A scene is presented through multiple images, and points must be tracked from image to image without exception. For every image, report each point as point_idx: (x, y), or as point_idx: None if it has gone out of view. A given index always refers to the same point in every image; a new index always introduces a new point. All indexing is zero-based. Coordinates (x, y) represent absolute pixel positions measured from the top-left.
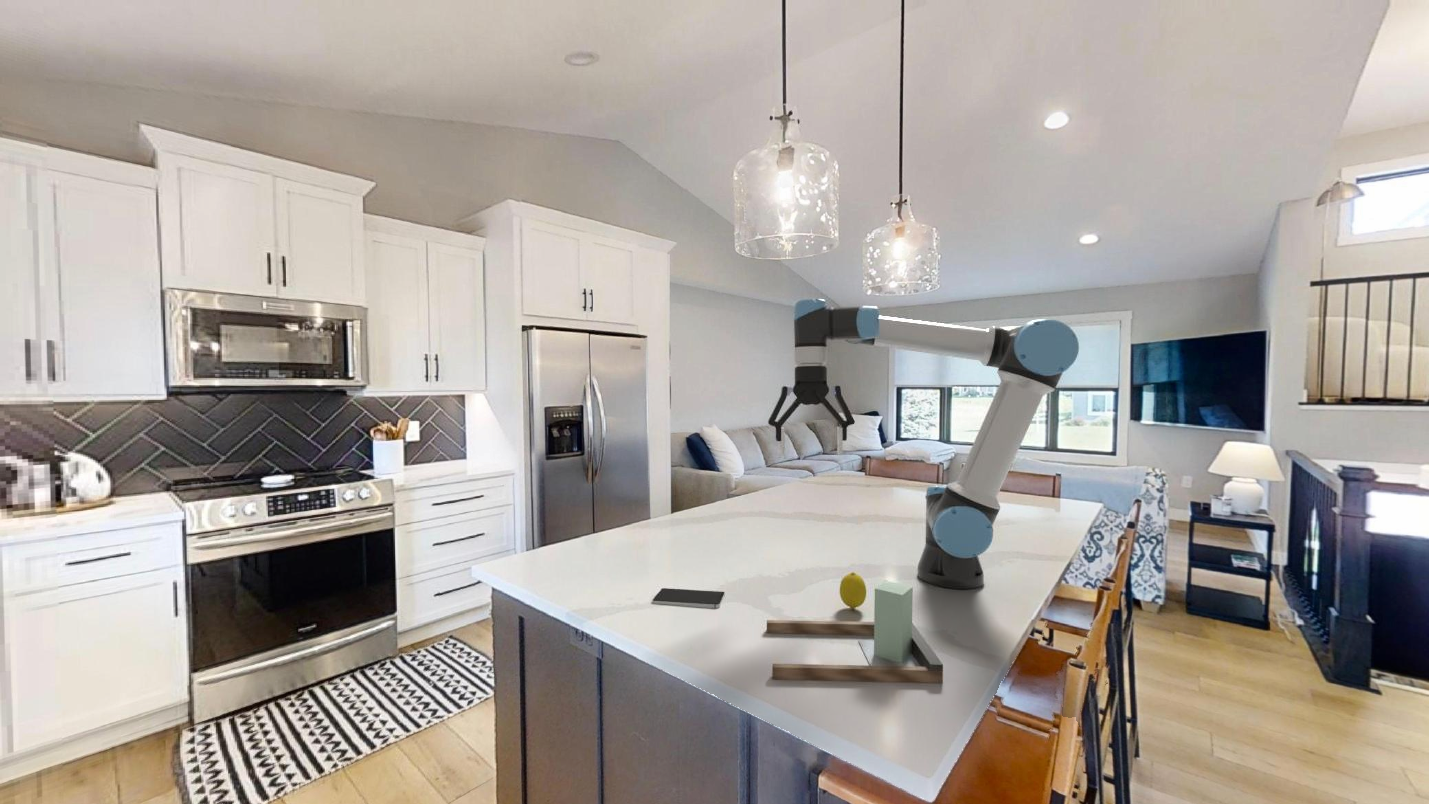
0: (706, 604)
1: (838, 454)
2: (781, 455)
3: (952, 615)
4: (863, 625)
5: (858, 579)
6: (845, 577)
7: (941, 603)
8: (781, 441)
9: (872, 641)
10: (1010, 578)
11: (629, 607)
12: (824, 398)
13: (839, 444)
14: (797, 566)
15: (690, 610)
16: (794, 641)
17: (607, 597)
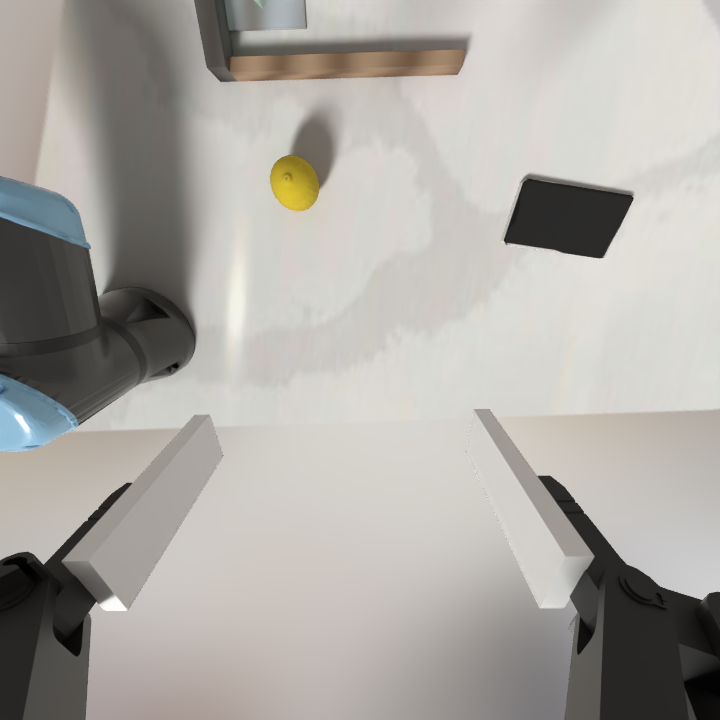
0: (544, 181)
1: (214, 431)
2: (489, 411)
3: (148, 173)
4: (291, 55)
5: (279, 165)
6: (303, 177)
7: (164, 226)
8: (527, 463)
9: (282, 23)
10: None
11: (675, 173)
12: None
13: (176, 453)
14: (368, 371)
15: (571, 165)
16: (416, 19)
17: (701, 219)
